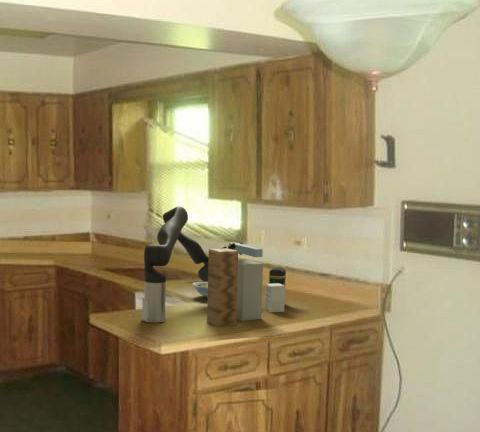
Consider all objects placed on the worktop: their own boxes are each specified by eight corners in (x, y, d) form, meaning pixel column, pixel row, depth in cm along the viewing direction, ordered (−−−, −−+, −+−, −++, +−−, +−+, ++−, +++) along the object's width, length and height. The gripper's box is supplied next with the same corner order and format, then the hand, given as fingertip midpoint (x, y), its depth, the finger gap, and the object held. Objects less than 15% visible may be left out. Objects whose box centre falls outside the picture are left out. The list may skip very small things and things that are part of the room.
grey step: (242, 320, 324) (243, 264, 322) (228, 315, 334) (230, 261, 332) (261, 318, 329) (263, 263, 327) (247, 313, 339) (249, 260, 338)
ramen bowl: (199, 303, 361) (200, 286, 361) (184, 295, 382) (184, 279, 381) (245, 300, 372) (246, 284, 371) (228, 293, 392) (228, 277, 392)
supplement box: (278, 309, 353) (279, 283, 352) (284, 312, 346) (285, 285, 345) (264, 309, 350) (265, 283, 349) (269, 312, 343) (270, 286, 342)
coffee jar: (282, 307, 357) (283, 269, 356) (266, 306, 359) (267, 268, 358) (286, 303, 367) (287, 266, 365) (270, 302, 369) (271, 265, 367)
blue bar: (255, 257, 320) (255, 249, 319) (228, 250, 340) (228, 242, 340) (262, 256, 321) (262, 249, 321) (235, 250, 342) (235, 242, 342)
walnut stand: (217, 326, 311) (219, 251, 309) (206, 321, 320) (208, 249, 317) (236, 324, 316) (238, 251, 313) (224, 320, 324) (226, 248, 322)
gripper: (207, 252, 347) (223, 237, 334) (233, 251, 354) (249, 236, 341) (210, 267, 344) (227, 253, 331) (236, 265, 352) (253, 251, 338)
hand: (238, 244), depth 336 cm, fingers closed on blue bar, 3 cm apart
